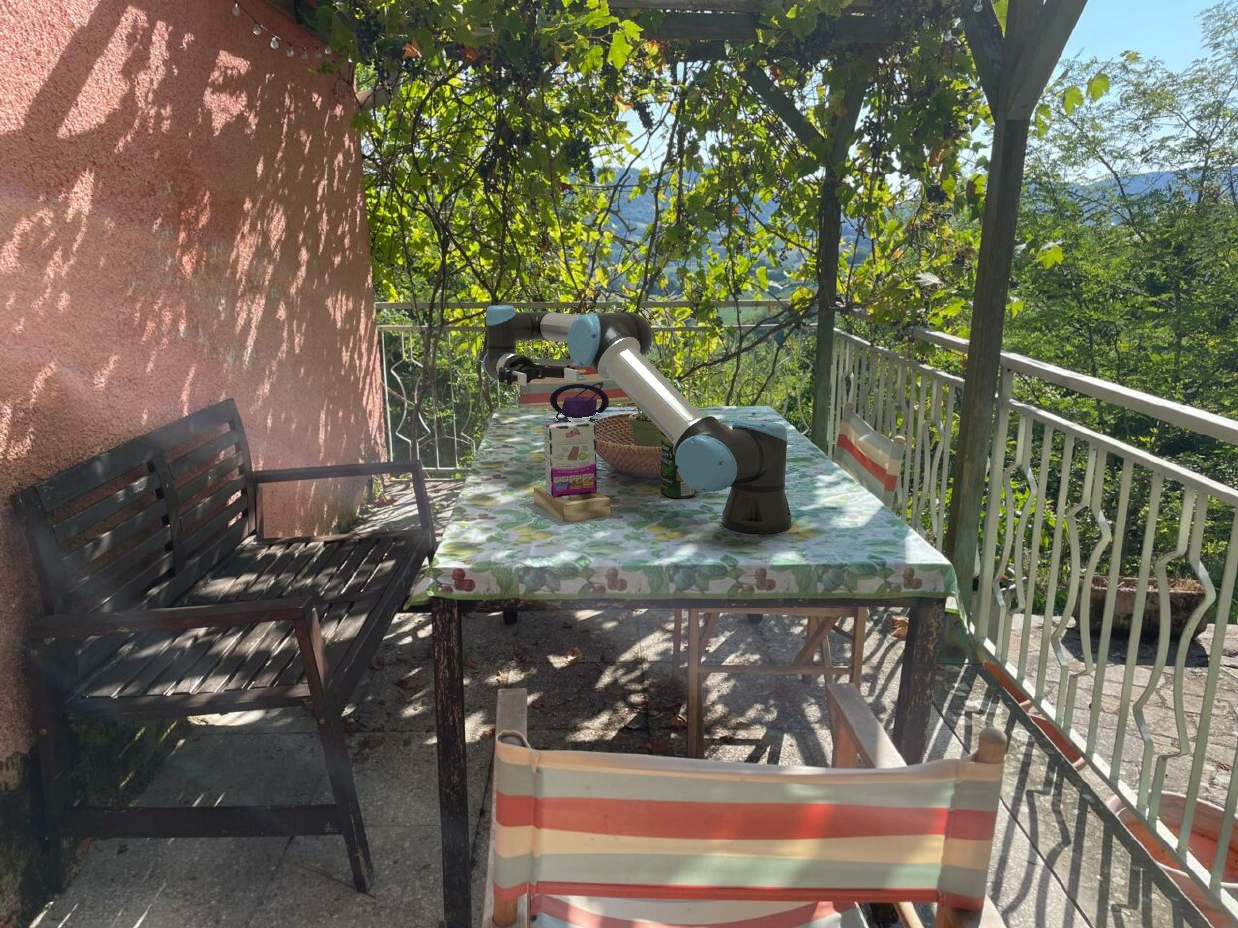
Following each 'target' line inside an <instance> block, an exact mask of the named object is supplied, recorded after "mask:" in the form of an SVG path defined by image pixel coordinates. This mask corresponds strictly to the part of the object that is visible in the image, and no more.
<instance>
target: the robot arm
mask: <svg viewBox="0 0 1238 928" xmlns="http://www.w3.org/2000/svg"><path fill="white" fill-rule="evenodd" d="M515 309H516V308H515V306H514V305H506V304H505V305H489V306H488V307H487V308H486V313H485V325H486V340H487V341H486V342H487V343H486V344H487V346H486V354H484V357H483V359H482V368H483V371H484V372H485V373H486V374H487V376H489V377H491V378H493V379H495V380H498V383H499V384H501V383H502V384H503V383H504V382H506V386H514V385H517V386H524V387H526V386H527V384H529V383H531V381H533V380H544V379H546V378H552V379H564V380H566V381H569V382H574V383H579V382H580V380H579V376H580V373H579V371H578V370H576V369H577V368H576V367H574V366H571V364H567V365H566V366H558V365H550V364H536V363H534V362H533V360H532V359H531V358H529V357H528V356H526V355H522V354H518V353H516V352H517V351H516V350H517V342H519V341H520V342H522V341H538V340H539V341H547V342H548V341H551V342H557V343H565V344H567V350H568V355H569V357H570V359H571V360H572V363H575V364H577V365H578V366H582V367H581V368H587V367H591V368H592V369H593V370H594V371H595V373H597V374H598V375H599V376H600V377H601V378H602V379H603V380H613V382H614V383H615V384H616V385H617V386H618V387H619V388H620V389H621V390H622V391H623V392H624V393H625V394H626V395H627V396H628V398H630V400H632V402H633V403H635V405H636V406H637V407H638V408H639V409H640V410H641V411H642V412H643V413H644V414H645V415H646V417H648V419H650V421H651V422H652V423H653V424H654V425H655V426H656V427H657V428H658V429H659V431H660V432H661V431H662V432H663V433H664V434H665V435H666V436H667V437H668V438H669V440H670V441H671V442H672V443H673V444H674V447H673V453H674V455H675V463H676V465H677V466H678V469H677V471H678V473H679V475H680V477H681V479H682V480H683V481H684V482H685V483H686V484H687V485H688V486H689V487H691V488H692V489H694V490H696V491H697V492H701V493H709V492H721V491H723V490H726V489H728V488H730V490H729V493H728V496H727V499H726V503H725V506H724V508H723V510H722V515H721V524H722V525H723V526H725V528H727V529H730V530H732V531H737V532H741V533H747V534H748V533H749V534H775V533H781V532H784V531H787V530H789V529H790V528H791V526H792V517H793V516H792V512H791V511H790V506H789V502H788V499H787V494H786V491H785V489H786V488H785V487H786V470H787V469H786V468H787V448H788V444H789V442H788V431H787V427H786V426H785V425H784V424H782V423H779V422H773V421H767V420H761V419H760V420H759V419H747V418H736V419H734V420H733V422H732V425H731V429H727V428H726V427H725V426H724V425H723V424H722V423H721V422H720V421H719V420H718V419H717V418H716V417H715V416H714V415H703V414H702V413H701V412H700V411H699V410H698V409H697V408H696V407H695V406H694V405H693V404H692V403H691V402H690V401H689V400H688V399H687V398H686V397H685V396H684V395H683V394H682V393H681V392H680V391H679V390H678V388H676V386H674V385H673V384H672V383H671V382H670V381H669V380H668V379H667V378H666V377H665V375H663V374H662V373H661V372H660V371H659V370H658V369H657V368H656V367H655V366H654V365H653V363H651V362H650V361H649V360H648V359H647V358H646V357H645V355H646V354H647V353H648V352H649V350H650V348H651V346H652V344H653V340H654V339H653V330H652V327H651V325H650V322H649V321H648V319H646V318H645V317H644V316H643V315H641V314H639V313H636V312H632V311H621V312H597V313H596V312H589V313H585V314H576V313H574V314H572V313H561V312H560V313H559V312H555V311H552V310H551V311H549V310H542V311H529V312H528V311H527V312H526V311H519V312H518V311H516V310H515Z"/></svg>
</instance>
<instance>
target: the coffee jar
mask: <svg viewBox="0 0 1238 928" xmlns="http://www.w3.org/2000/svg"><path fill="white" fill-rule="evenodd" d="M673 447H674V444H673V443H672V442H671V441H670V440H669V438H668V437H667V436H666V435H665V434H664V433H663V432H662V431H661V430H660V478H659V479H660V481H659V483H660V484H659V486H660V487H659V489H660V490H659V491H661V493H662V494H664V495H665V496H667V497H669V498H675V499H676V498H679V499H688V498H690V497H692V496H696V495H695V494H696V491H697V490H694V489H692V488H691V487H689V486H688V485H687V484H686V483H685V482H684V481H683V480H682V479H681V477H680V475H679V473H678V471H677V469H678V466H677V465H676V463H675V455H674V453H673Z"/></svg>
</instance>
